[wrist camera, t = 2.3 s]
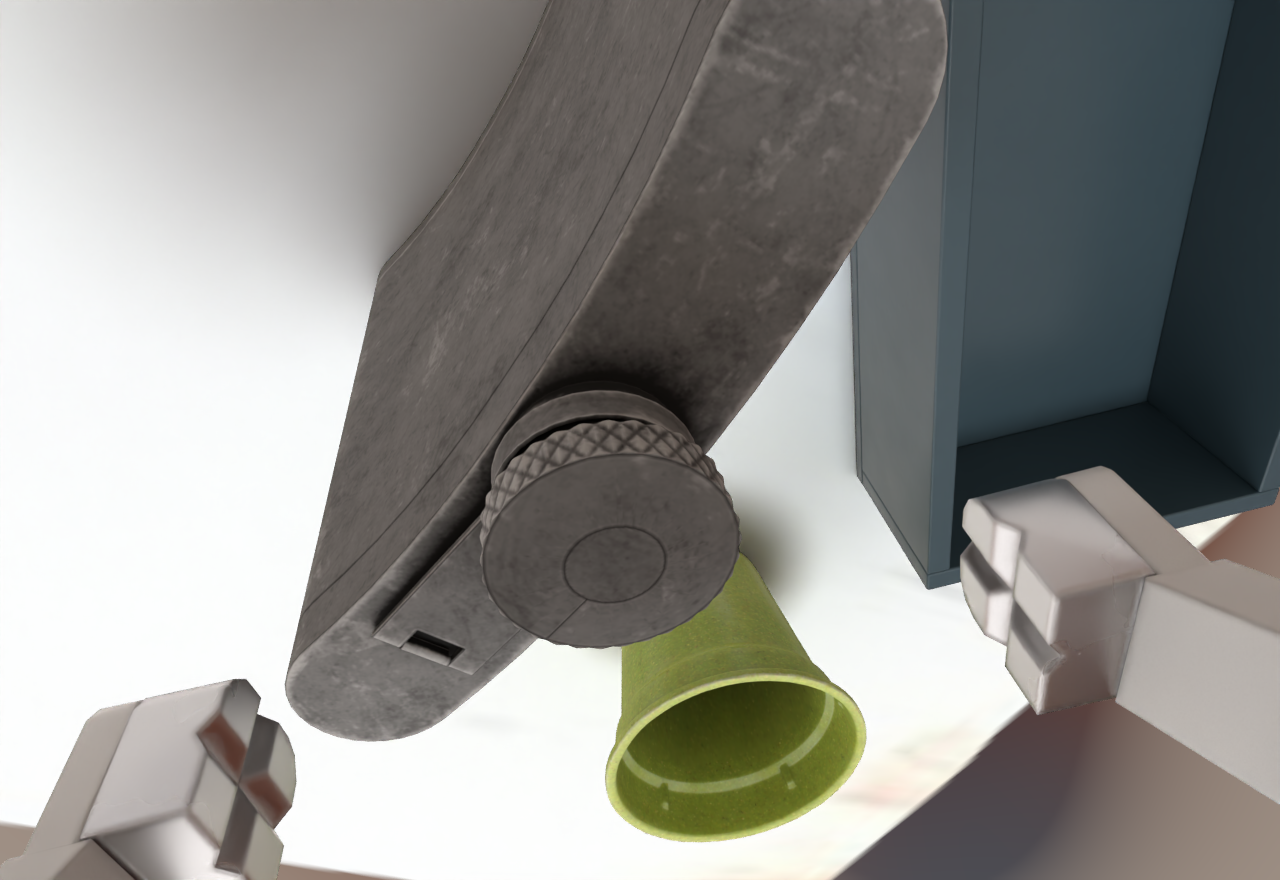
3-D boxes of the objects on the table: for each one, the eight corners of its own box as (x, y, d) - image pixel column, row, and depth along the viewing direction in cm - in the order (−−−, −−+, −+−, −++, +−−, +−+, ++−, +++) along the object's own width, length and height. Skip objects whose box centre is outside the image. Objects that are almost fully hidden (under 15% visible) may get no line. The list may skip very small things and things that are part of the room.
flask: (722, -48, 23) (1168, 130, 8) (464, 355, 28) (452, 889, 14) (611, -143, 21) (917, -137, 6) (361, 305, 27) (223, 847, 12)
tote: (838, -167, 21) (957, -175, 16) (1304, -271, 22) (1572, -312, 16) (856, 476, 34) (926, 591, 29) (1151, 404, 34) (1274, 505, 29)
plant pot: (539, 628, 36) (554, 813, 29) (665, 474, 33) (716, 644, 26) (706, 686, 40) (755, 861, 33) (835, 555, 37) (920, 721, 30)
